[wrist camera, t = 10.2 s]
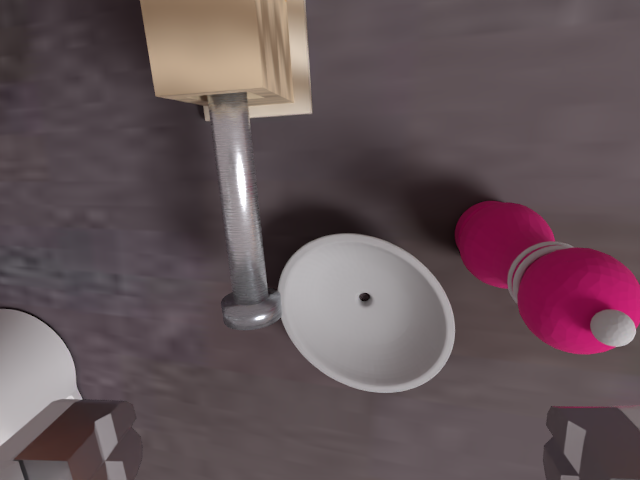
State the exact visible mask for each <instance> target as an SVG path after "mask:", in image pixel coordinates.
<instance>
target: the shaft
mask: <svg viewBox="0 0 640 480" xmlns="http://www.w3.org/2000/svg"><path fill="white" fill-rule="evenodd" d="M207 100H208V107H209V115H210V123H211V130H212V138H213V146H214V153H215V161H216V169H217V176H218V184H219V192H220V199H221V207H222V215H223V222H224V230H225V238H226V245H227V253H228V260H229V268H230V276H231V283H232V291H233V292H232V293H230V294H228V295H227V296H225V297H224V298H223V299H222V301H221V306H222V313H223V320H224V324H225V325H226V326H228V327H229V328H232V329H237V330H253V329H259V328H263V327H266V326H269V325H271V324H273V323H275V322H276V321H278V320H279V319H280V318H281V316H282V305H281V295H280V292H279V291H277V290H275V289H272V288H267V278H266V269H265V259H264V250H263V241H262V231H261V222H260V212H259V203H258V193H257V184H256V174H255V165H254V155H253V146H252V136H251V127H250V117H249V108H248V98H247V92H238V93H226V94H213V95H207Z"/></svg>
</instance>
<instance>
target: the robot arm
mask: <svg viewBox="0 0 640 480" xmlns="http://www.w3.org/2000/svg"><path fill="white" fill-rule="evenodd" d="M135 420H136V414H135V410H134V407H133V404H131V403H129V402H127V401H116V400H89V399H82V397H81V395H80V393H79V391H78V389H77V385H76V372H75V366H74V362H73V359H72V357H71V354H70V352H69V350H68V348H67V347H66V345H65V344H64V342H63V341H62V340H61V338H60V337H59V336H58V335H57V334H56V333H55V332H54V331H53V330H52V329H51V328H50V327H49V326H47V325H46V324H45V323H43V322H42V321H40V320H39V319H37V318H35V317H33V316H31V315H29V314H27V313H24V312H21V311H17V310H11V309H0V480H134V479H135V477H136V476H137V473H138V470H139V467H140V464H141V461H142V451H143V446H142V441H141V436H140V435H139V434H138V433H137V432H136V431H135V430H134V429H133V428H132V425H133V423H134V422H135ZM546 426H547V427H548V429H549V431H550V432H551V434H552V435H553V437H552V438H551V439H550V440H549V441H548V442H547V443H546V444H545V445H544V454H543V464H544V470H545V476H546V480H640V406H611V407H563V406H551V408H550V410H549V411H548V414H547V422H546Z"/></svg>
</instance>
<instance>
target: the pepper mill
mask: <svg viewBox="0 0 640 480" xmlns="http://www.w3.org/2000/svg"><path fill="white" fill-rule="evenodd" d="M455 241H456V245H457V247H458V249H459V251H460V255H461V258H462V260H463V263H464V265H465V266H466V268H467V269H468V270H469V271H470V272H471V273H472V274H473V275H474V276H475V277H476V278H478V279H479V280H481V281H482V282H484V283H486V284H489V285H492V286H496V287H500V288H508V289H509V292H510V294H511V296H512V298H513V299H514V301H515V302H516V303H517V304H518V308H519V312H520V315H521V317H522V319H523V320H524V322H525V324H526V325H527V326H528V328H529V329H530V331H532V332H533V333H534V334H535V335H536V336H537V337H538V338H539V339H541V340H542V341H543V342H545V343H547V344H548V345H550V346H552V347H554V348H556V349H559V350H562V351H565V352H569V353H574V354H594V353H600V352H605V351H608V350H610V349H613V348H615V347H619V346H624V345H626V344H628V343H629V342H631V341H632V340H633V338H634V336H635V333H636V328H637V327H638V325H639V323H640V285H639V283H638V281H637V279H636V278H635V276H634V275H633V274H632V272H631V271H630V270H629V269H628V268H627V267H626V266H624V265H623V264H622V263H621V262H619V261H618V260H616V259H615V258H613V257H612V256H610V255H607V254H605V253H602V252H599V251H596V250H593V249H590V248H574V247H573V246H571V245H568V244H566V243H562V242H555V239H554V235H553V233H552V231H551V229H550V227H549V226H548V224H547V223H546V221H545V220H544V219H543V218H542V217H541V216H540V215H538V214H537V213H536V212H534V211H533V210H531V209H530V208H528V207H526V206H523V205H520V204H515V203H502V202H499V201H485V202H481V203H478V204H475V205H473V206H472V207H470V208H469V209H467V210H466V211H465V212H464V213H463V214H462V216H461V217H460V219H459V220H458V222H457V225H456V229H455Z"/></svg>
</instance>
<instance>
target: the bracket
mask: <svg viewBox="0 0 640 480" xmlns="http://www.w3.org/2000/svg"><path fill="white" fill-rule="evenodd" d="M140 4H141V10H142V16H143V22H144V28H145V34H146V40H147V47H148V53H149V59H150V65H151V71H152V77H153V83H154V90H155V96H157V97H162V98H167V99H172V100H178V101H183V102H188V103H193V104H199V105H203V107H204V114H205V121H210V115H209V107H208V100H207V95H213V94H226V93H238V92H247V98H248V108H249V117H250V118H261V117H275V116H288V115H302V114H313V113H312V97H311V82H310V67H309V51H308V36H307V20H306V5H305V0H286V2H285V0H140Z"/></svg>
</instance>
